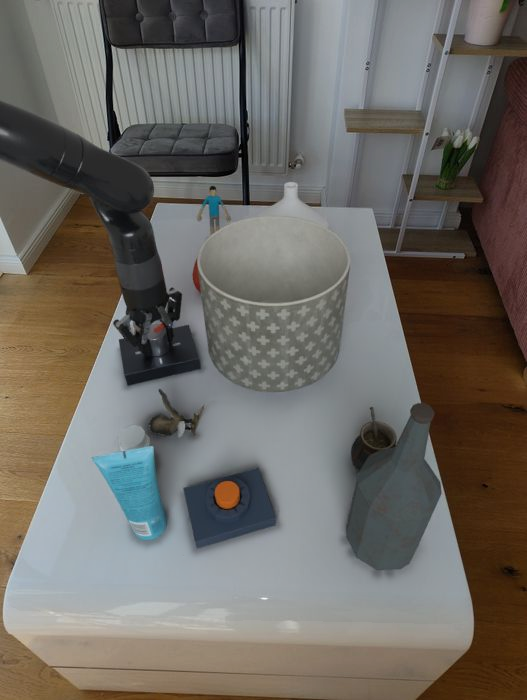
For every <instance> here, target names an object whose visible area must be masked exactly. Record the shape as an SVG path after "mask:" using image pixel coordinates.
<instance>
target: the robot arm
mask: <svg viewBox="0 0 527 700" xmlns="http://www.w3.org/2000/svg"><path fill="white" fill-rule="evenodd" d="M0 161H1V162H2V163H6V164H8V165H10V166H12V167H14V168H17V169H19V170H22V171H23V172H25V173H29V174H31V175H33V176H35V177H38V178H40V179H43V180H45V181H48V182H50V183H53V184H55V185H57V186H60V187H63V188H67V189H70V190H73V191H76V192H78V193H81V194H83V195H85V196H87V197H88V198H89V200H90V201H91V204H92V206H93V208H94V210H95V212H96V214H97V216H98V218H99V220H100V222H101V223H102V225H103V227H104V228H105V230H106V233H107V236H108V239H109V244H110V248H111V251H112V255H113V260H114V261H113V262H114V268H115V273H116V276H117V279H118V283H119V287H120V290H121V294H122V299H123V301H124V304H125V306H126V309H125V315H124V316H123V317H121V319H115V320H114V321H113V323H112V324H113V326H114V327H115V329H116V330H117V331H118V332H119V334H120V335H121V336H122V338H124V339H125V340H126V341H127V342H129V343H130V344H131V345H132V346H133V347H136V346H137V345H138V348H139V351H140V352H141V353H142V354H143V355H145V356H148V357H149V356H151V355H152V354H151V350H150V346H149V342H148V341H147V337H148V333H149V332H150V325H151V324H154V323H155V322H157V321H159V322H160V324H163V325H164V327H165V328H166V332H167V337H168V342H169V343H171V342H172V341H173V339H172V338H174V333H173V328H174V327H173V326H174V323H175V322H177V321H179V320H180V318H181V311H182V302H183V293H182V292H181V291H179V290H177V289H176V288H175V287H173V286H171V287H170V288H169V289H167V285H166V278H165V276H164V275H165V274H164V269H163V264H162V259H161V257H160V254H159V251H158V248H157V247H158V246H157V242H156V237H155V232H154V228H153V225H152V222H151V220H150V219H149V218H148V217H147V216H146V215H145V214H144V213H143V212H142V211H144V210H145V209H147V208H148V207H149V206H150V204H151V203H152V201H153V198H154V195H155V187H154V186H155V185H154V181H153V179H152V177H151V175H150V173H149V172H148V171H147V170H146V169H145V168H144V167H142V166H141V165H139V164H137V163H134V162H132V161H131V160H128V159H126V158H124V157H122V156H120V155H118V154H115V153H113V152H110V151H108V150H105V149H103V148H102V147H99V146H98V145H95V144H94V143H92V142H90V141H89V140H87V139H86V138H85V137H84V136H81V135H79V134H78V133H76V132H75V131H72V130H70V129H69V128H66V127H65V126H63V125H61V124H59V123H56V122H55V121H54V120H51V119H49V118H46V117H45V116H42V115H40V114H38V113H35V112H33V111H30V110H28V109H26V108H22V107H20V106H17V105H15V104H12V103H9V102H7V101H3V100H2V99H0ZM166 308H167V309H166ZM131 322H132V326H133V329H134V330H133V333H132V331H131V330H132V327H131Z"/></svg>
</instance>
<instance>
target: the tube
mask: <svg viewBox="0 0 527 700" xmlns="http://www.w3.org/2000/svg"><path fill="white" fill-rule="evenodd" d="M154 448H155V447H154V445H151V446H148V447H142V448H137V449H131V450H126V451H120V450H119V451H115V452H111V453H106V454H102V455H97V456H91V460H92V461H93V463H94V464H95V466H96V467H97V469H98V470H99V472H100V473H101V475H102V477H103V479H104V480H105V481H106V484H107V485H108V487H109V488H110V490H111V492H112V494H113V495H114V498H115V499H116V501H117V503H118V505H119V507H120V509H121V511H122V512H123V514H124V515H125V518H126V519H127V522H128V523H129V526H130V527H131V529H132V531H133V533H134V534H135V537H137V538H138V539H140V540H143V541H152V540H155V539H157V538H158V537H160V536H161V535H162V534H164V531H165V530H166V527H167V517H166V513H165V509H164V505H163V500H162V497H161V493H160V488H159V487H160V486H159V482H158V477H157V471H156V461H155V462H154V457H155V449H154Z"/></svg>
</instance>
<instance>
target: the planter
mask: <svg viewBox="0 0 527 700" xmlns="http://www.w3.org/2000/svg"><path fill="white" fill-rule="evenodd" d="M196 259H197V265H198V273H199V281H200V289H201V293H200V295H201V302H202V303H201V305H202V311H203V318H204V325H205V326H204V327H205V334H206V335H205V336H206V342H207V349H208V356H209V358H210V360H211V362H212V364H213V366H214V367H215V368H216V370H217V371H218V372H219V373H220V374H221V375H222V376H223V377H224V378H225V379H226V380H229V381H230V382H232V383H234V384H236V385H237V386H240V387H242V388H245V389H249V390H252V391H255V392H263V393H264V392H265V393H285V392H292V391H296V390H299V389H302V388H306V387H309V386H310V385H312V384H314V383H316V382H318V381H319V380H321V379H322V378H323V377H325V376H326V375H327V374H328V373H329V372H330V371H331V370H332V369H333V367H334V365H335V364H336V362H337V360H338V358H339V354H340V349H341V340H342V333H343V325H344V317H345V309H346V302H347V301H346V300H347V294H348V286H349V285H348V284H349V277H350V269H351V255H350V251H349V248H348V246H347V244H346V242H345V241H344V240H343V239H342V238H341V237H340V236H339V235H338V234H336V233H335V232H334V231H333V230H331V229H330V230H329V229H328V228H326V227H324V226H322V225H320V224H317V223H315V222H312V221H309V220H305V219H301V218H296V217H289V216H260V217H255V216H254V217H248V218H244V219H240V220H237V221H233V222H230V223H229V224H227V225H225V226H223V227H220V229H219V230H217V231H216V230H215V231H214V233H213V234H212V235H211V236H208V237H207V239H205V240H204V242H203V243H202V245H201V246H200V248H199V250H198V253H197V257H196Z"/></svg>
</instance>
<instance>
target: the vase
mask: <svg viewBox="0 0 527 700" xmlns="http://www.w3.org/2000/svg"><path fill="white" fill-rule="evenodd" d="M298 189H299V184H298V183H297V182H294V181H288V182H285V183H284V185H283V197H282V198H281V199H280V200H279V201H277V202H275V203H274V204H272V205H270V206H268V207H266V208H264V209H262V210H261V211H259V212H258V213H257V214H256V215H255V216H254V217H260V216H289V217H296V218H301V219H305V220H309V221H312V222H315V223H317V224H320V225H322V226H324V227H326V228H328V229H329V230H331V228H330V226H329V222H328V219H327V218H326V217H325V215H324V214H323V213H322V212H320V210H317V209H315V208H314V207H312V206H311V205H308V204H306V203H305V202H304V201H302V200H301V199H300V198H299V196H298V194H299V193H298V191H299V190H298Z"/></svg>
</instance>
